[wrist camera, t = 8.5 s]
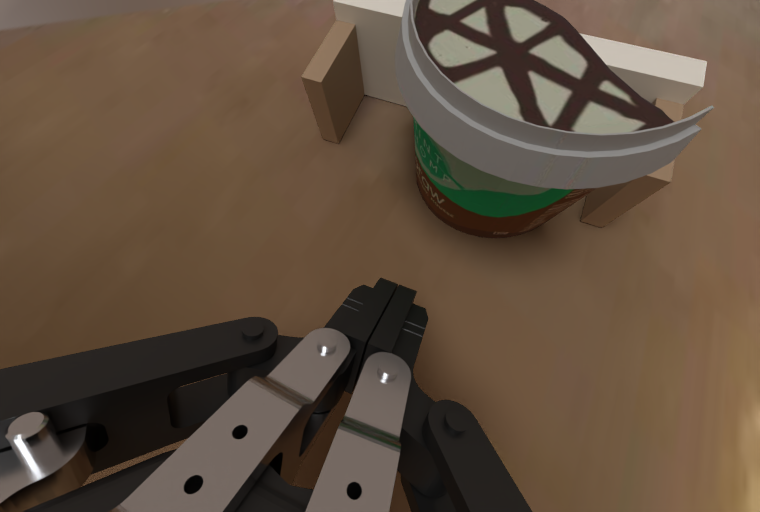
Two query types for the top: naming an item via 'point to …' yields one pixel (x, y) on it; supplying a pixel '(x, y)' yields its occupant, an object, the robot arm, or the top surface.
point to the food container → (519, 115)
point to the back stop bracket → (378, 79)
